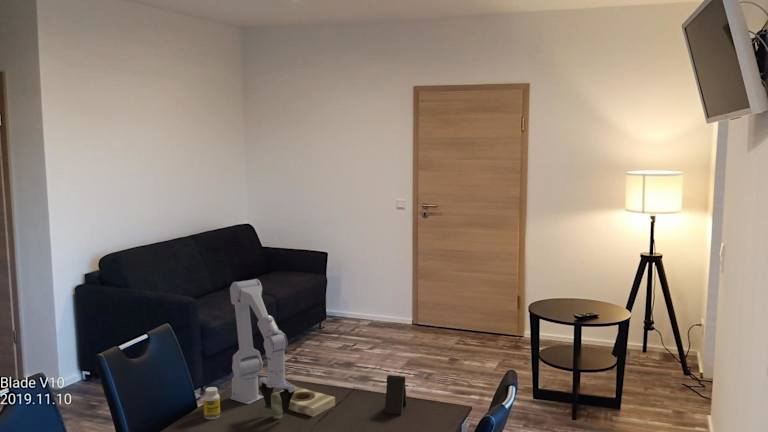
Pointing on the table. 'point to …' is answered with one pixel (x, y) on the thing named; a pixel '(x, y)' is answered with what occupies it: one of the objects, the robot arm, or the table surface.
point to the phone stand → (395, 395)
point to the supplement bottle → (211, 403)
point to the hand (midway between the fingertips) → (277, 407)
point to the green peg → (276, 405)
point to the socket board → (310, 402)
